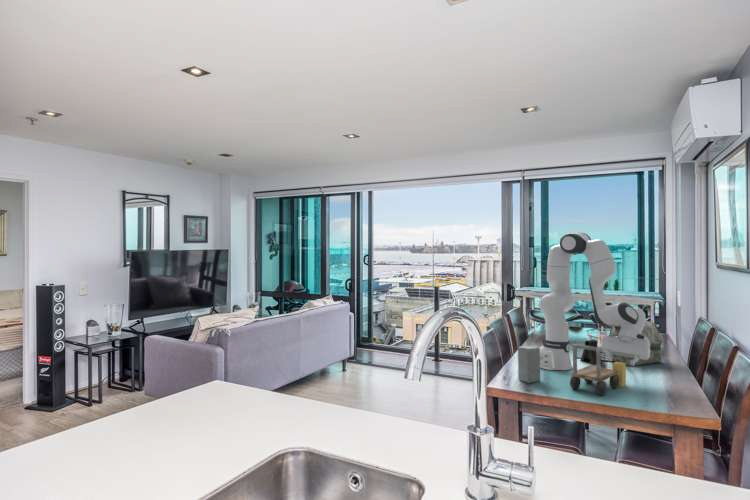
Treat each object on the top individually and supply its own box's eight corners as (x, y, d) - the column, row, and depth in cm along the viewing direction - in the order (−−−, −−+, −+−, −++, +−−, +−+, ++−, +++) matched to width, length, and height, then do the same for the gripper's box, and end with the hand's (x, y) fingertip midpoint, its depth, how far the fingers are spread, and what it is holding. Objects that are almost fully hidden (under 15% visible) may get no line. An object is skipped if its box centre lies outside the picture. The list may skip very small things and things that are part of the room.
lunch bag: (630, 368, 230) (630, 325, 230) (602, 359, 248) (601, 320, 247) (667, 363, 239) (667, 322, 238) (637, 355, 256) (637, 317, 256)
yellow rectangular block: (612, 385, 202) (612, 363, 202) (616, 383, 205) (616, 361, 205) (622, 387, 199) (622, 364, 199) (625, 385, 202) (625, 363, 202)
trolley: (570, 390, 196) (569, 343, 196) (589, 380, 209) (589, 337, 209) (600, 397, 186) (600, 348, 186) (619, 386, 199) (618, 341, 199)
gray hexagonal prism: (528, 383, 205) (528, 349, 205) (516, 379, 212) (516, 346, 212) (541, 381, 209) (541, 347, 209) (529, 377, 216) (529, 344, 216)
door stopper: (602, 363, 239) (602, 341, 239) (594, 365, 236) (594, 342, 236) (588, 360, 247) (587, 338, 247) (580, 361, 245) (580, 339, 245)
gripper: (603, 330, 216) (594, 354, 210) (651, 337, 201) (643, 363, 194) (607, 338, 219) (598, 362, 213) (654, 345, 204) (646, 371, 197)
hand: (620, 362), depth 204 cm, fingers open, 8 cm apart
